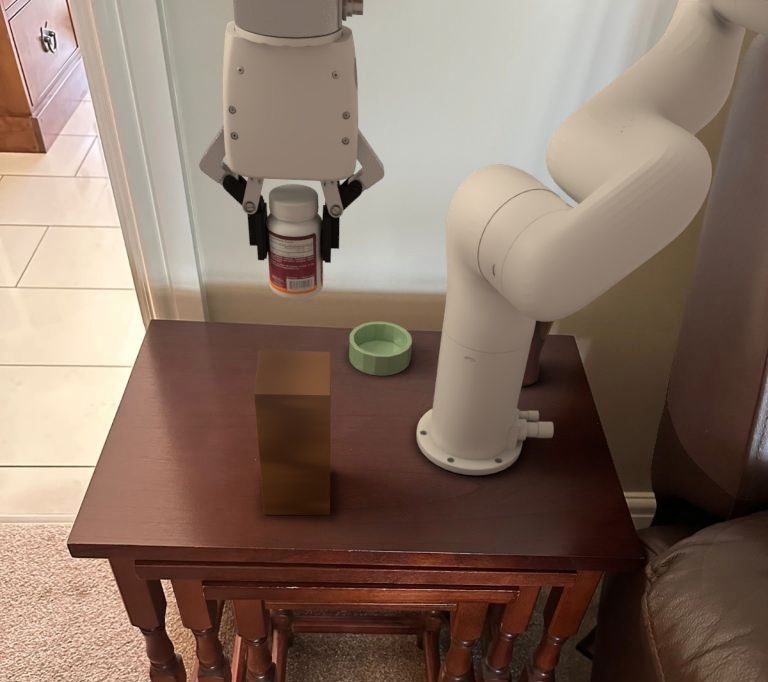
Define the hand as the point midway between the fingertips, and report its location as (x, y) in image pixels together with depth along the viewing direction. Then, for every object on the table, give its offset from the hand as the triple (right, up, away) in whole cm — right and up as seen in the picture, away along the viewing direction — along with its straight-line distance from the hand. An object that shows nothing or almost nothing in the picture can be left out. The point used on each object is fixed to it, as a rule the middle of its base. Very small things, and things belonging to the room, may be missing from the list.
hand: (295, 251), depth 67 cm
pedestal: (-2, -20, +19) cm, 28 cm away
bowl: (+7, -2, +38) cm, 38 cm away
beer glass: (+25, -4, +37) cm, 45 cm away
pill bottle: (0, -2, +3) cm, 4 cm away
